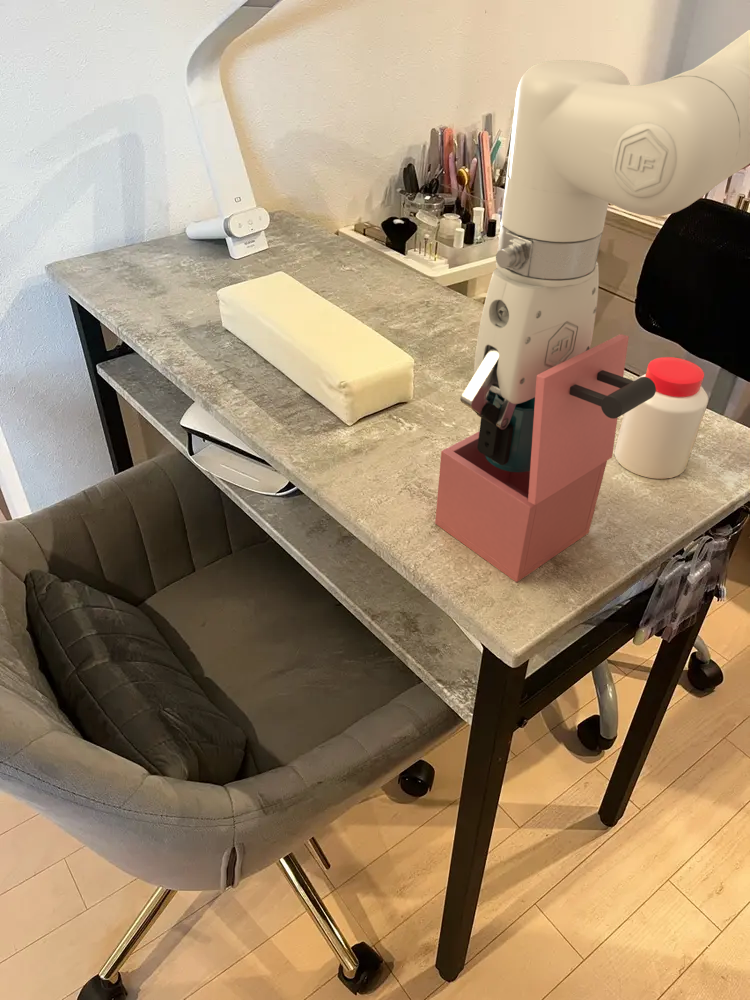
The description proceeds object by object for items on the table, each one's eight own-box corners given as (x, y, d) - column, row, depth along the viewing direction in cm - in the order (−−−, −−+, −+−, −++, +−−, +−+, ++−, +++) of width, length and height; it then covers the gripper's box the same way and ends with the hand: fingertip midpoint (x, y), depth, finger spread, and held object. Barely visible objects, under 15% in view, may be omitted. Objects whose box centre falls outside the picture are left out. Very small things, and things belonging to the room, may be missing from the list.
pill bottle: (600, 456, 85) (621, 368, 78) (638, 430, 89) (662, 344, 82) (662, 488, 80) (691, 398, 73) (700, 459, 84) (730, 371, 77)
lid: (536, 374, 57) (599, 398, 54) (620, 333, 63) (683, 352, 59) (527, 501, 64) (583, 530, 60) (604, 454, 69) (660, 477, 65)
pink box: (434, 523, 75) (441, 450, 70) (507, 481, 81) (518, 410, 75) (516, 582, 69) (530, 507, 64) (588, 533, 75) (607, 459, 69)
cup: (547, 445, 72) (559, 384, 68) (537, 478, 68) (549, 416, 64) (491, 433, 73) (499, 373, 69) (478, 465, 69) (485, 403, 65)
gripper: (509, 295, 52) (481, 502, 63) (654, 237, 60) (606, 429, 72) (432, 261, 56) (418, 461, 68) (578, 212, 65) (544, 396, 76)
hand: (516, 442), depth 70 cm, fingers closed on cup, 5 cm apart
